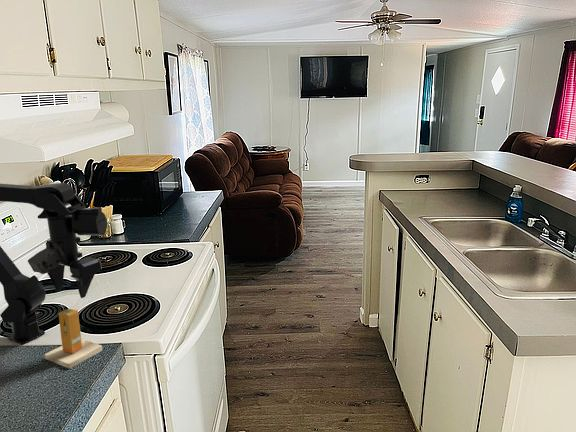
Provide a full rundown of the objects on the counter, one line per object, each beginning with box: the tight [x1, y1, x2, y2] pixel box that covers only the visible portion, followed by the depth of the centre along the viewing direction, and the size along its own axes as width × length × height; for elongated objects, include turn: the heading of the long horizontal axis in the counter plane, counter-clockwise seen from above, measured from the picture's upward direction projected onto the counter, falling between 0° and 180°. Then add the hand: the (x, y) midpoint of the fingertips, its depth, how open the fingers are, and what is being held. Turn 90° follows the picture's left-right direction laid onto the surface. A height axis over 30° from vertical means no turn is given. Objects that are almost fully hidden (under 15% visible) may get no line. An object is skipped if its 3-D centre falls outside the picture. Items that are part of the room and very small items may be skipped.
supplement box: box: [58, 308, 82, 354], centre depth 106 cm, size 3×3×10 cm
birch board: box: [44, 338, 104, 369], centre depth 107 cm, size 9×9×1 cm
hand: (71, 294), depth 113 cm, fingers open, 9 cm apart
